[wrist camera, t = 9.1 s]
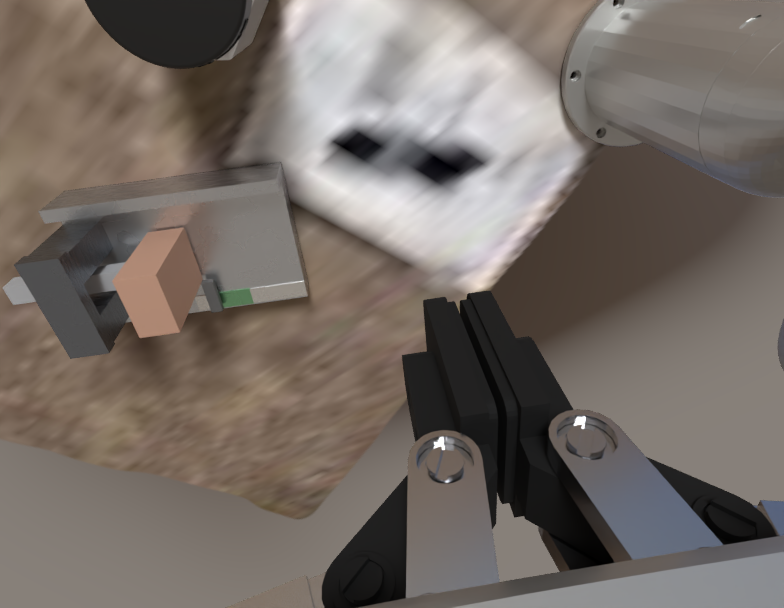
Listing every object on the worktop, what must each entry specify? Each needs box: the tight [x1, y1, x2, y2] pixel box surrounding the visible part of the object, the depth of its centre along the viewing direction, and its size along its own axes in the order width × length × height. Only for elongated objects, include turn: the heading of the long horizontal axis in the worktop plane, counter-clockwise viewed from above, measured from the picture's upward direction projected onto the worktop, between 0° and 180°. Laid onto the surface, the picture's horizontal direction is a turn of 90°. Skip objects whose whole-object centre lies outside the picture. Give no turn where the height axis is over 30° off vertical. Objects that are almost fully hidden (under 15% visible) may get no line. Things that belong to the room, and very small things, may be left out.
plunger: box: [3, 228, 224, 338], centre depth 39 cm, size 15×8×8 cm, turn 96°
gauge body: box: [14, 162, 309, 359], centre depth 40 cm, size 18×12×10 cm, turn 96°
